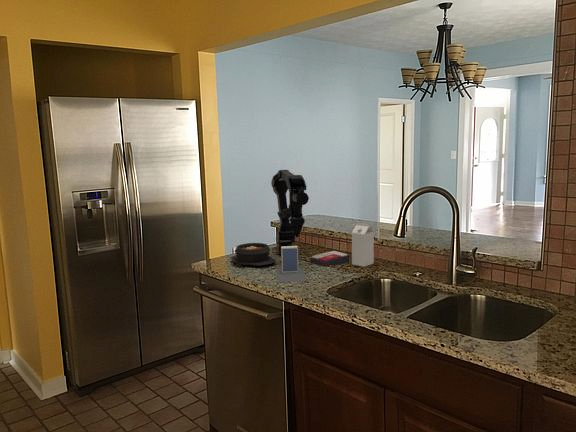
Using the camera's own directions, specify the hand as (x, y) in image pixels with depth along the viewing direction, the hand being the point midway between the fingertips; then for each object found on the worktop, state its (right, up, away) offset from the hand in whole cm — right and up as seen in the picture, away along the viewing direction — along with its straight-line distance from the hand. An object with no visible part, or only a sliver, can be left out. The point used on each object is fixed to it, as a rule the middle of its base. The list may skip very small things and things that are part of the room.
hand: (296, 235), depth 223 cm
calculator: (+16, -13, +2) cm, 21 cm away
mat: (-3, -16, -19) cm, 25 cm away
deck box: (-3, -15, -14) cm, 21 cm away
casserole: (-20, -13, +4) cm, 25 cm away
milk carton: (+30, -13, -3) cm, 33 cm away
